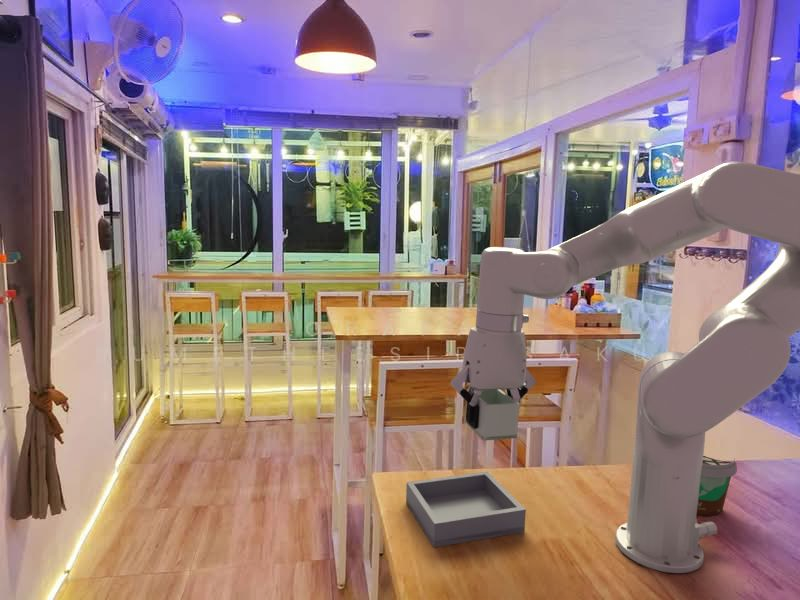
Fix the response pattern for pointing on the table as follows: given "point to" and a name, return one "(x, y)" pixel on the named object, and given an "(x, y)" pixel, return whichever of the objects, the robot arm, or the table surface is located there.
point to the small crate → (496, 416)
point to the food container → (714, 486)
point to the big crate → (464, 508)
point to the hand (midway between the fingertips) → (490, 423)
